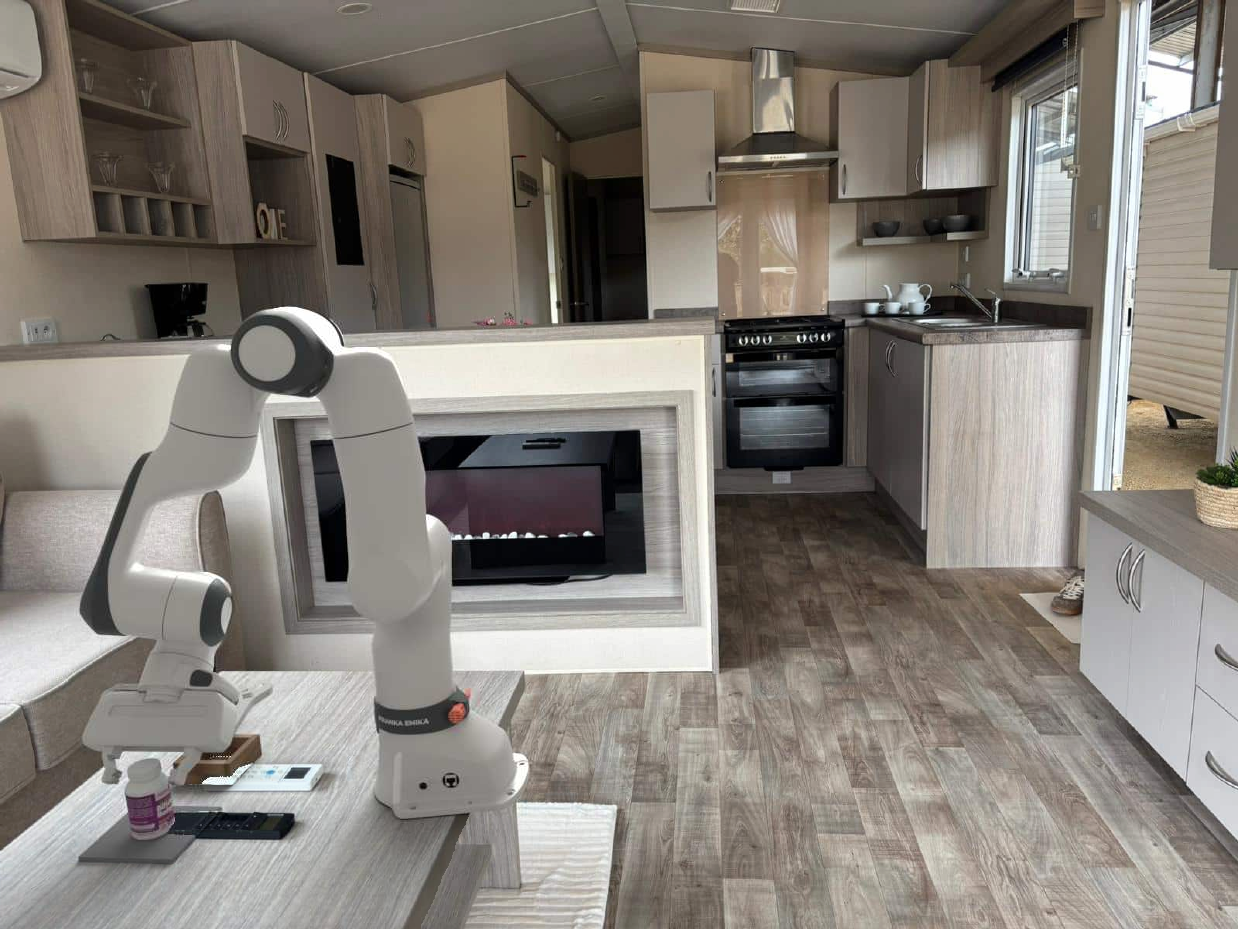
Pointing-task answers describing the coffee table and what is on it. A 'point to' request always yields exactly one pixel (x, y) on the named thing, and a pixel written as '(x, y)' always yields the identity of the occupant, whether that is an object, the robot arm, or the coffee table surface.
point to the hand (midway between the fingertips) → (142, 784)
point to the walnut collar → (241, 752)
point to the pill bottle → (148, 800)
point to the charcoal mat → (140, 843)
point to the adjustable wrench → (250, 700)
